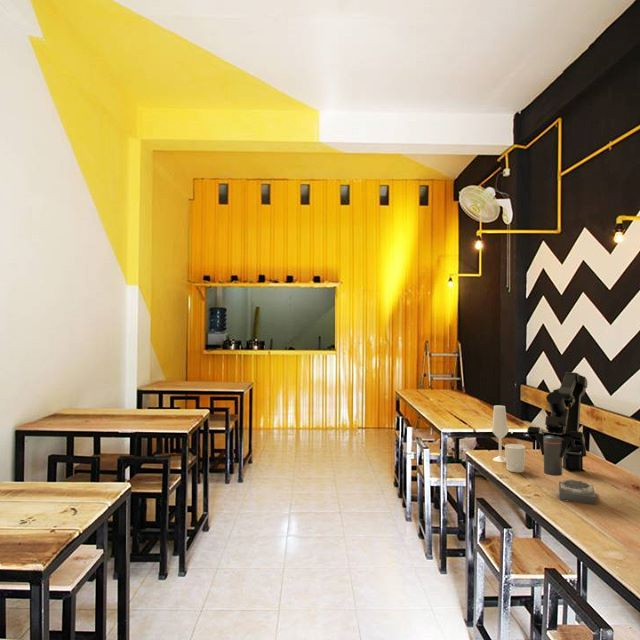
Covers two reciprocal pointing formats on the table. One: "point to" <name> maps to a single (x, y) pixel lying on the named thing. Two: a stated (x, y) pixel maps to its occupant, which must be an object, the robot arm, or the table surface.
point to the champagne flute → (499, 428)
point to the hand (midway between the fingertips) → (551, 455)
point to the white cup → (515, 457)
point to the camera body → (577, 491)
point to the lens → (552, 455)
